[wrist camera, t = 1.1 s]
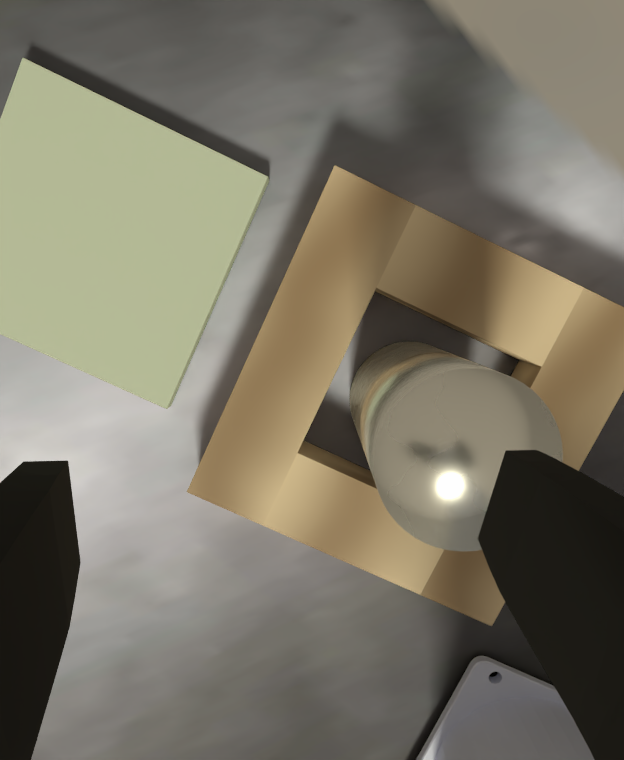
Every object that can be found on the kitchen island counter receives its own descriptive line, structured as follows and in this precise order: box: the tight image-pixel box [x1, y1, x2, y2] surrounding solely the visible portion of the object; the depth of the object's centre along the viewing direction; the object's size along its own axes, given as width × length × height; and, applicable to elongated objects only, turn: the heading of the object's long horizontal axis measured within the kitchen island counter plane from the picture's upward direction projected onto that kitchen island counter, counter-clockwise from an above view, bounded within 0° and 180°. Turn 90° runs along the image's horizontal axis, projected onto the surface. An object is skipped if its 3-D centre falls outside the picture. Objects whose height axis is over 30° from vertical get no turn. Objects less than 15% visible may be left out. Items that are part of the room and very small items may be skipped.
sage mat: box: [0, 58, 269, 409], centre depth 19 cm, size 9×9×1 cm
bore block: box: [187, 166, 624, 626], centre depth 20 cm, size 12×12×2 cm
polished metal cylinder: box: [350, 341, 563, 551], centre depth 17 cm, size 4×4×8 cm
